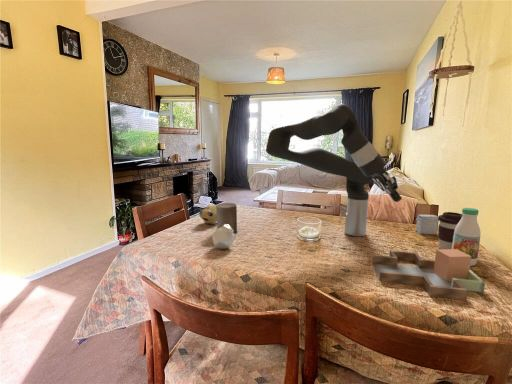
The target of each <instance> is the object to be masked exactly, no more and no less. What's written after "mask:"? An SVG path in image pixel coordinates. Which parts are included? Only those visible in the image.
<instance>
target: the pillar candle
mask: <svg viewBox="0 0 512 384" xmlns="http://www.w3.org/2000/svg"><path fill="white" fill-rule="evenodd" d="M215 205H216V209H217V221H216V230H217V229H218V228H221V227H222V226H223V225H224V224H228V225H230V226H231V228H232V229H233V230H234V232H233V234H235V233H236V234H237V233H238V213H237V210H238V209H237V204H236V203H235V202H233V203H231V202H223V203H218V204H215ZM236 234H235V235H236Z"/></svg>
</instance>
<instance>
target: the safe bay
mask: <svg viewBox="0 0 512 384" xmlns="http://www.w3.org/2000/svg"><path fill="white" fill-rule="evenodd" d="M453 280H458V281H459V282H460V283H461V284H462V285H463V286H464V287H465V288H466V289H467V290H469V291H468V292H476V291H478V292H483V294H484V292H485V286H486V282H485V281H484V280H482V278H480V277H479V276H478V275H477V274H475V272H473V270H471V269H470V270H469V277H468V280H466V279H456V278H452V283H451V287H453Z"/></svg>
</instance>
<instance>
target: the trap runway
mask: <svg viewBox="0 0 512 384" xmlns="http://www.w3.org/2000/svg"><path fill="white" fill-rule="evenodd" d="M371 258H372V259H371V263H372V264H371V265H372V267H373V268H374V271H375V273H376V276H377V277H378V280H379V282H382V283H392V284H402V285H410V286H411V285H412V286H419V287H420V286H421V287H423V289H424V290H425V292H426V294H427V295H428V296H429V297H432V298H441V299H449V300H451V299H452V300H461V301H467V297H468V292H470V291H469V290H467V289H466V288H465V287H464V286H463V285H462V284H461V283H460V282H459V281H458V280H453V287H451V283H452V281H446V280H444V279H443V278H441V277H440V276H438V275H437V274H435V273H434V264H435V259H424V258H422V257H421V256H420V255H419V254H418V253H417V252H414V251H413V252H412V251H401V250H391V249H390V250H389V255H388V256H387V255H376V254H372V257H371ZM398 261H410V262H413V263H414V264H415V265H416V266H413V265H402V264H398ZM475 293H477V294H479V295H480V294H481V295H484V293H483V292H478V291H475Z"/></svg>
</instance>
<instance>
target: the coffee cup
mask: <svg viewBox="0 0 512 384" xmlns="http://www.w3.org/2000/svg"><path fill="white" fill-rule="evenodd" d="M437 217H438V220H439V223H438V232H437V235H438V248H439V249H452V243H453V236H454V231H455V227H456V225H457V224H458V223H459V221H460V220H461V218H462V213H459V212H454V211H453V212H452V211H445V212H443V213H442V214H440V215H438V216H437Z"/></svg>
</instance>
